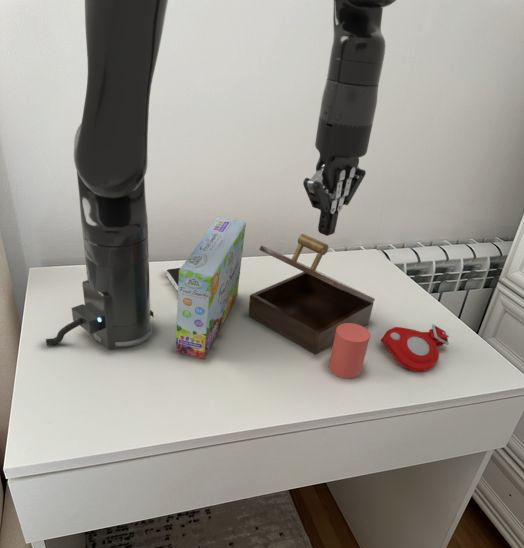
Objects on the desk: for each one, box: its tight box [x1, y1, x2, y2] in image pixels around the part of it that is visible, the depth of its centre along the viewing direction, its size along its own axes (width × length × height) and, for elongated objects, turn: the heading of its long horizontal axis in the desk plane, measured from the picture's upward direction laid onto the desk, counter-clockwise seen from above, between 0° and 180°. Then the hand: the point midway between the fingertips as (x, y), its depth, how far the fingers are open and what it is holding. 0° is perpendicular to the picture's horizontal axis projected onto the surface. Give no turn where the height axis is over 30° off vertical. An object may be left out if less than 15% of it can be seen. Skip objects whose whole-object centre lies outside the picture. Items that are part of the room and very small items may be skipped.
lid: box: [259, 233, 376, 304], centre depth 91 cm, size 16×16×5 cm
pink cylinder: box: [328, 323, 371, 379], centre depth 83 cm, size 5×5×7 cm
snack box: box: [174, 216, 247, 360], centre depth 88 cm, size 21×6×15 cm, turn 168°
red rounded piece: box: [380, 324, 450, 373], centre depth 90 cm, size 12×4×10 cm
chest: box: [248, 271, 374, 356], centre depth 95 cm, size 16×16×4 cm
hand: (325, 233), depth 84 cm, fingers closed
